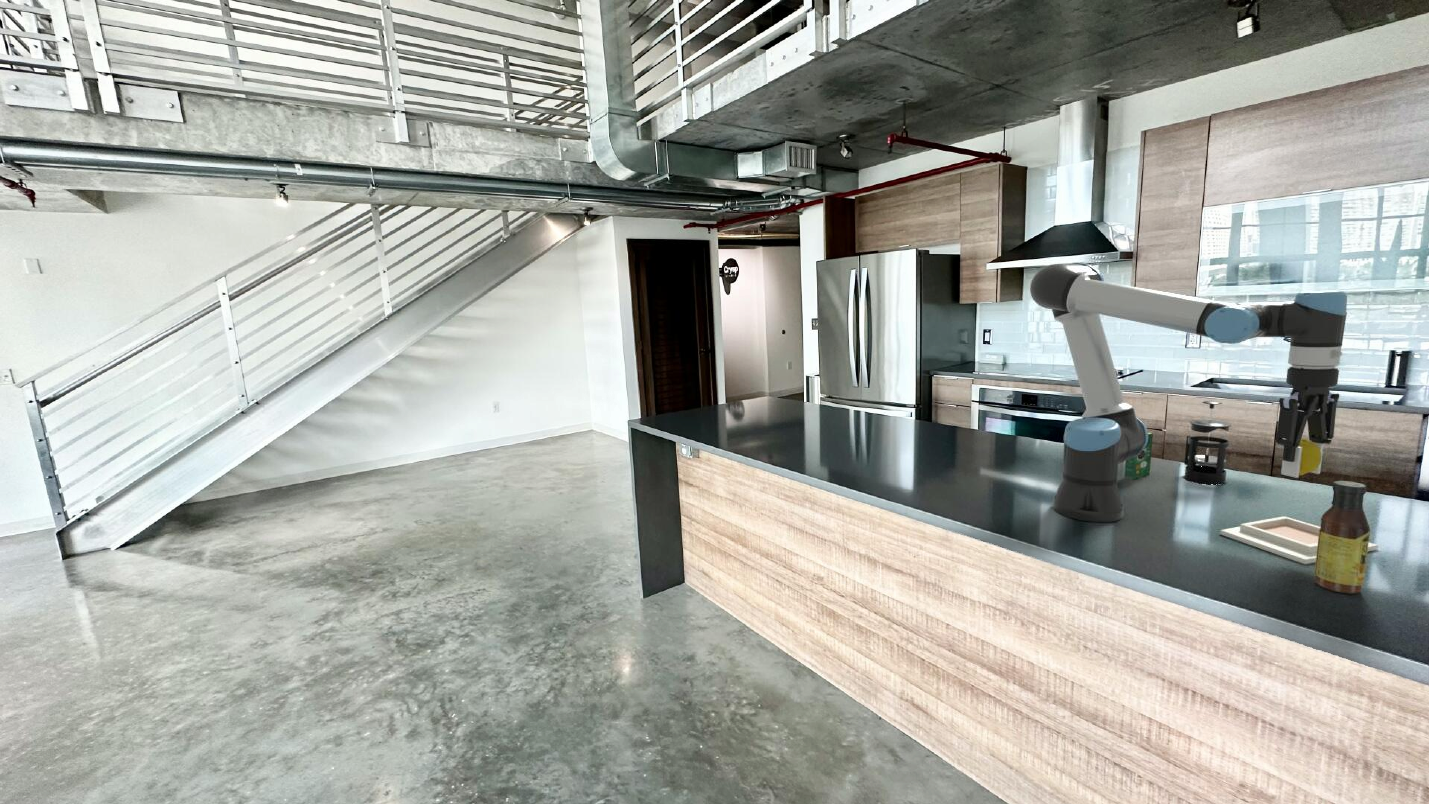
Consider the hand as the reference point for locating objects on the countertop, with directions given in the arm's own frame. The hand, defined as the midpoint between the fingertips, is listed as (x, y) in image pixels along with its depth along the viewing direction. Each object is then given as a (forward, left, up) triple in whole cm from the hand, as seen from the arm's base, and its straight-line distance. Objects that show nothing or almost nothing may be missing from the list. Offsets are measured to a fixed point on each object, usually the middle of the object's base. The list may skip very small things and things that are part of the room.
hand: (1300, 473), depth 125 cm
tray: (-1, -1, -15) cm, 15 cm away
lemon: (0, 0, -1) cm, 1 cm away
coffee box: (+9, +45, -15) cm, 49 cm away
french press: (+22, +36, -15) cm, 45 cm away
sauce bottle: (-16, -17, -15) cm, 28 cm away
